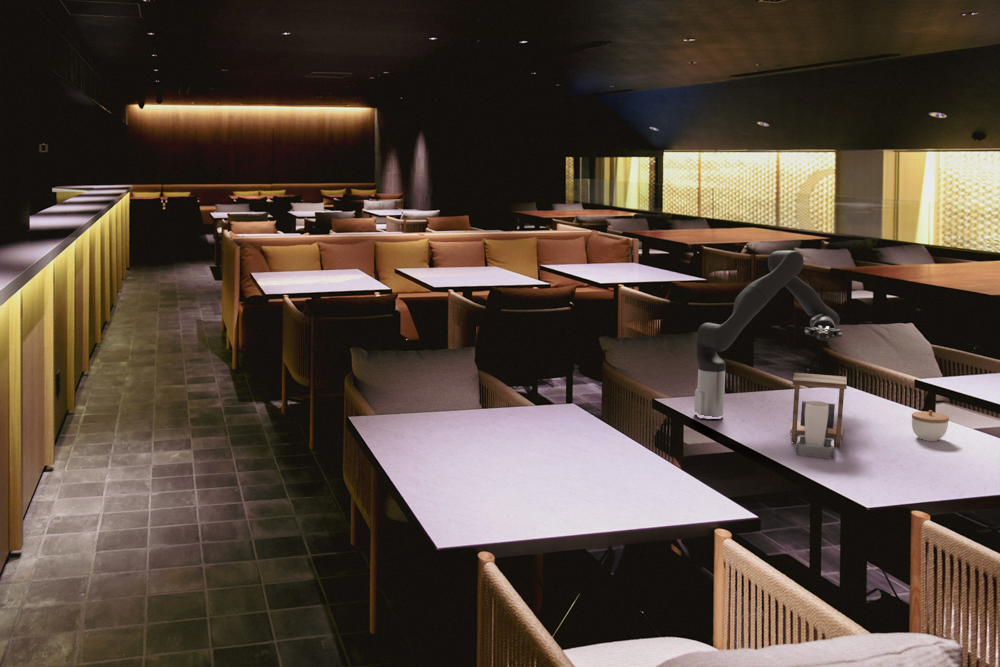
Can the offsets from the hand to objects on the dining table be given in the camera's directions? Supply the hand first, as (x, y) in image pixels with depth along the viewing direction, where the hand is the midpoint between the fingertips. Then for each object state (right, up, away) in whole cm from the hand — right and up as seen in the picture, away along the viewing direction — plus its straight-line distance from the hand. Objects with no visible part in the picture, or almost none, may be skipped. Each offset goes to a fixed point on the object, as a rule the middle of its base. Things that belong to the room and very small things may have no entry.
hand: (823, 335), depth 294 cm
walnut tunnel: (-10, -34, -20) cm, 40 cm away
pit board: (-6, -32, -9) cm, 34 cm away
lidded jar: (+28, -33, -16) cm, 46 cm away
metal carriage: (-12, -34, -25) cm, 44 cm away
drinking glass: (-14, -36, -30) cm, 49 cm away
